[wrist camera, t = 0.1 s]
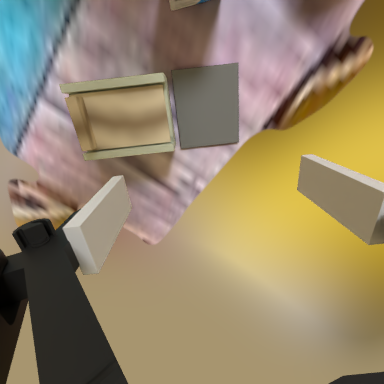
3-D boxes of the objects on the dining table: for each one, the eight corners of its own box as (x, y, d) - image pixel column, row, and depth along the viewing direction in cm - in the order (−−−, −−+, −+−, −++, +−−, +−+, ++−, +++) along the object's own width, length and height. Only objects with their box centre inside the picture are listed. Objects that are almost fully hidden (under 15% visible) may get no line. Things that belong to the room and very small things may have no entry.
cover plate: (72, 95, 33) (60, 94, 29) (162, 85, 32) (160, 83, 29) (89, 149, 36) (80, 154, 33) (170, 140, 36) (169, 144, 33)
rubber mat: (171, 70, 36) (171, 70, 35) (237, 63, 36) (238, 62, 35) (181, 148, 42) (181, 148, 41) (238, 141, 41) (238, 142, 41)
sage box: (80, 87, 36) (59, 84, 30) (166, 77, 36) (163, 72, 30) (99, 152, 41) (84, 160, 35) (175, 143, 41) (174, 150, 35)
